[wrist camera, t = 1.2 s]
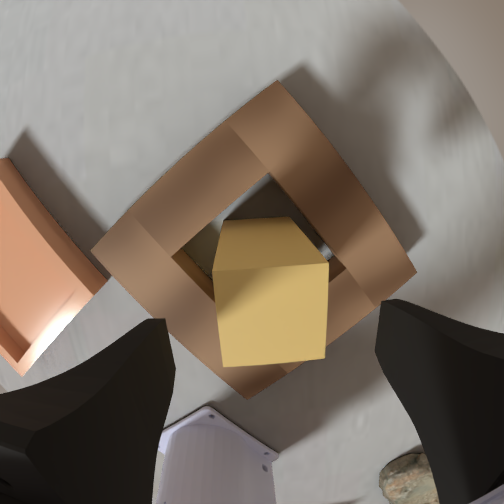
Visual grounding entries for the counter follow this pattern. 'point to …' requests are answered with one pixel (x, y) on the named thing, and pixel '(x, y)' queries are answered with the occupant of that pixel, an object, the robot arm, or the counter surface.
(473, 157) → the counter surface
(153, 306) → the socket block
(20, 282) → the tray
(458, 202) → the counter surface
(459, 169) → the counter surface
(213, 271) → the peg
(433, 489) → the long grey stone
